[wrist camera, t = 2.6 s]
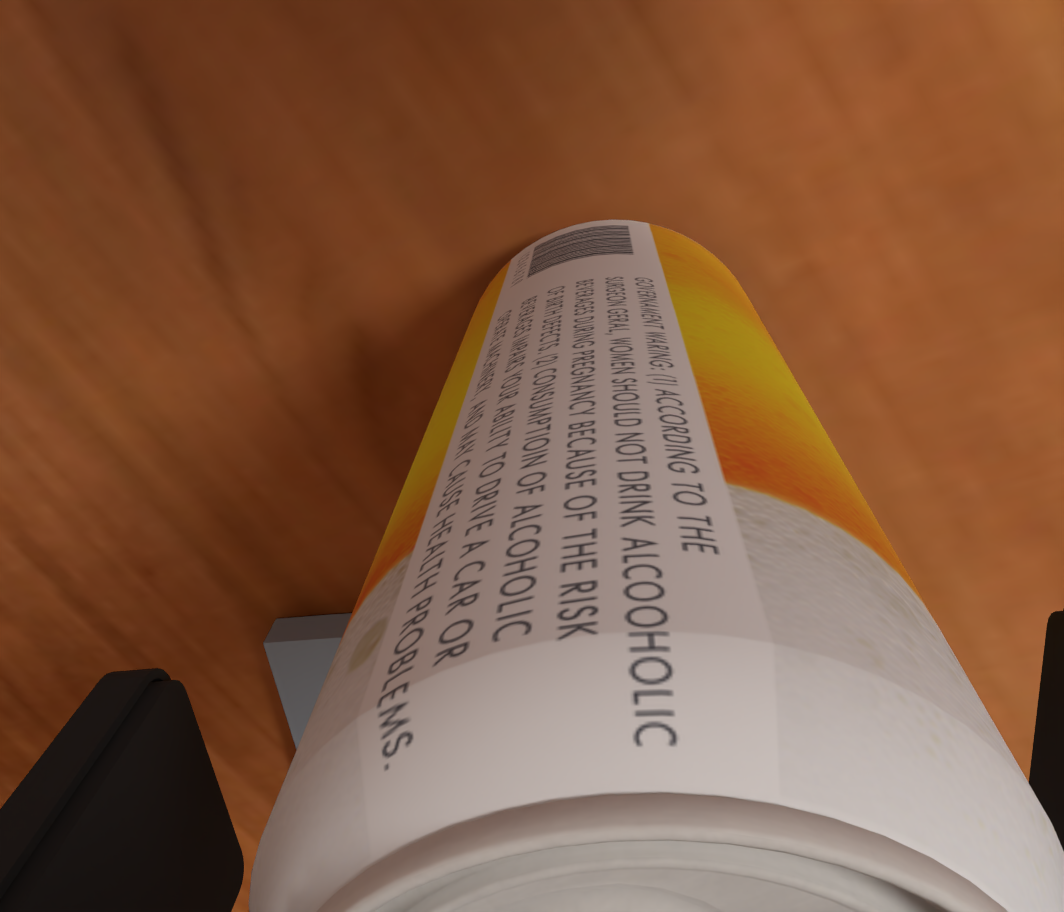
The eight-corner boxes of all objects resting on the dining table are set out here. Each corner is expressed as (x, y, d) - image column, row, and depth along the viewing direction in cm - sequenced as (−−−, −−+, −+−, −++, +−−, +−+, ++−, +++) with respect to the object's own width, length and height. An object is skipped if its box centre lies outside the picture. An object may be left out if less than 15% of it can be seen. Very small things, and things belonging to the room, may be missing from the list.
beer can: (532, 515, 21) (428, 1390, 8) (422, 275, 19) (-6, 918, 5) (788, 433, 20) (1212, 1306, 6) (704, 164, 18) (1094, 634, 4)
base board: (276, 618, 23) (241, 684, 21) (803, 578, 21) (828, 643, 19) (397, 1022, 30) (382, 1104, 27) (805, 1011, 28) (823, 1097, 26)
